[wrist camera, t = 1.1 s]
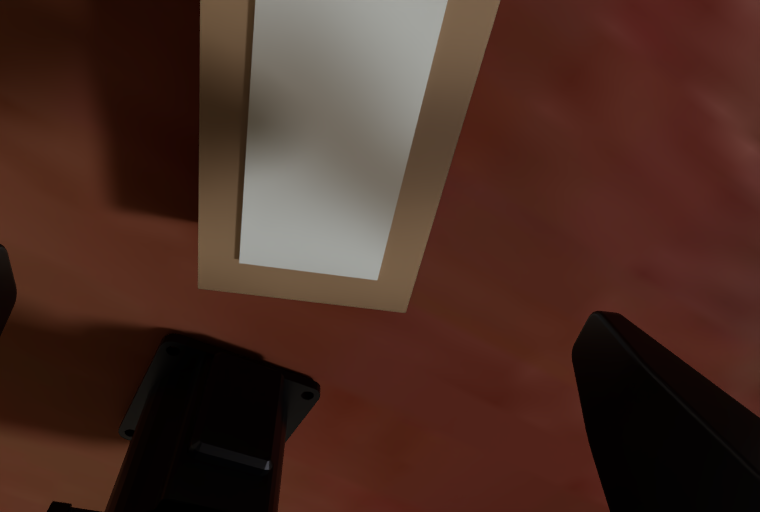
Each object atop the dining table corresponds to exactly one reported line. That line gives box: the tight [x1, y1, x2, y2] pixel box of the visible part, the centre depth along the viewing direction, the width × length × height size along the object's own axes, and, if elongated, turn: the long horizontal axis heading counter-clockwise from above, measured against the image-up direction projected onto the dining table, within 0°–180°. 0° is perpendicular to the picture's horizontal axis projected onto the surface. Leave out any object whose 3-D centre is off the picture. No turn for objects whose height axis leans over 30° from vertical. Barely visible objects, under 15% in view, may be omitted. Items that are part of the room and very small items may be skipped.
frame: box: [198, 0, 500, 313], centre depth 14 cm, size 10×6×4 cm, turn 169°
